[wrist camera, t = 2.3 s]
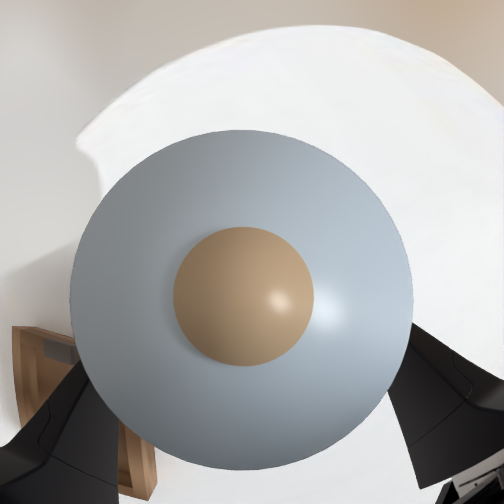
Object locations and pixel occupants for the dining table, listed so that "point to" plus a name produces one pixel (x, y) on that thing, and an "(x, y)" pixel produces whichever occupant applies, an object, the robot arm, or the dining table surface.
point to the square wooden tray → (47, 379)
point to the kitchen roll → (241, 300)
